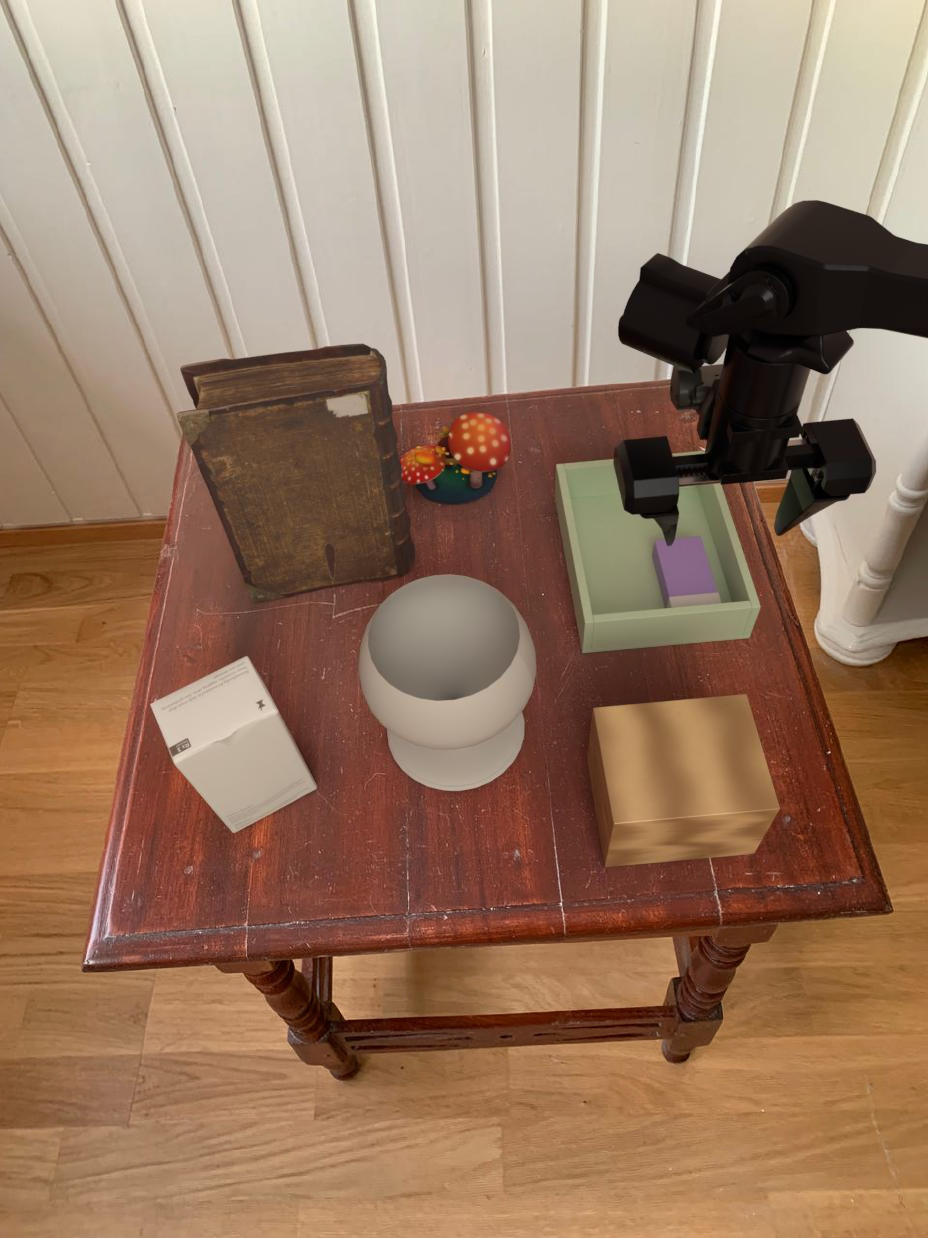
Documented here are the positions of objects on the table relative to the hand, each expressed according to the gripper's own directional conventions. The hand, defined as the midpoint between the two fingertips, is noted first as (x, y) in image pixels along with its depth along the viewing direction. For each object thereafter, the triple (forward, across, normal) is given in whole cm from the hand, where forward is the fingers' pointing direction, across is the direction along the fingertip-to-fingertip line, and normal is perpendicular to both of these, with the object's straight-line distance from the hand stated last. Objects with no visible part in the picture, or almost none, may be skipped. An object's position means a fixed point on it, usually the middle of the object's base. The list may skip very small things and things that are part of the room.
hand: (722, 536), depth 76 cm
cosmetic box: (+12, +41, +14) cm, 45 cm away
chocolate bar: (+11, +1, -3) cm, 11 cm away
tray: (+11, +4, -7) cm, 14 cm away
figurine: (+11, +22, -21) cm, 33 cm away
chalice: (+12, +24, +10) cm, 28 cm away
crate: (+12, +7, +18) cm, 23 cm away
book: (+11, +35, -9) cm, 38 cm away
